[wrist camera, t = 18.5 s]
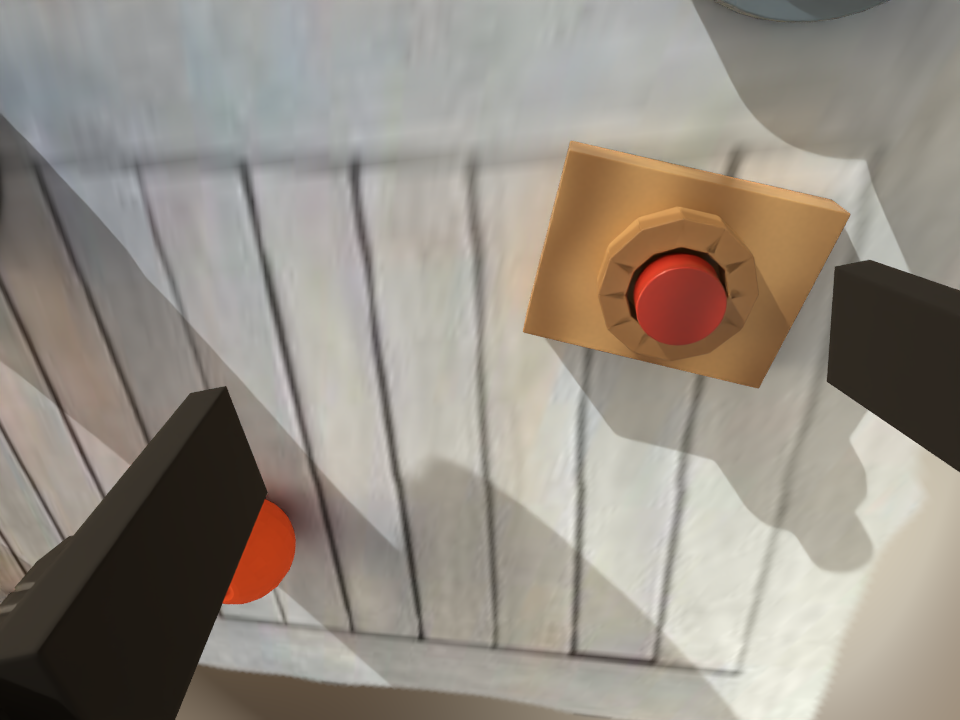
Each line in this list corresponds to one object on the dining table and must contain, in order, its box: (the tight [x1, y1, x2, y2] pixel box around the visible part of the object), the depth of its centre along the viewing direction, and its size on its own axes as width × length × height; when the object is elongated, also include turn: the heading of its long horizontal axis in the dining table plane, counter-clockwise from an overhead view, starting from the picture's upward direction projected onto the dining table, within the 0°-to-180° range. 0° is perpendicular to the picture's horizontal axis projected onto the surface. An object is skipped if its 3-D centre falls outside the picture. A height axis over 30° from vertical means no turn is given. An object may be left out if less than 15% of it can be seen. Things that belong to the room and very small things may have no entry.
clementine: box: [223, 499, 296, 604], centre depth 40 cm, size 8×7×7 cm
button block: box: [523, 141, 850, 388], centre depth 27 cm, size 12×9×4 cm
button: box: [633, 253, 727, 346], centre depth 25 cm, size 4×4×2 cm
